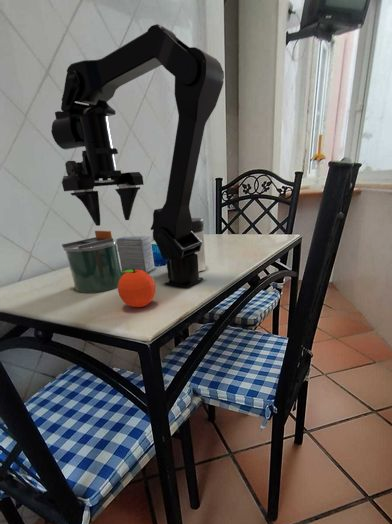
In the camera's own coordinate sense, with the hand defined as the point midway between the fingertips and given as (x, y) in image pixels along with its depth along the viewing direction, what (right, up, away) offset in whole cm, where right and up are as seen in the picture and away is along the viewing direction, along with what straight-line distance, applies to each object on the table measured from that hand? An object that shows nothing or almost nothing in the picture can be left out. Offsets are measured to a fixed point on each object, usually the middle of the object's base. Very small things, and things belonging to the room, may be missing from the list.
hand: (113, 222), depth 74 cm
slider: (-3, -5, -2) cm, 7 cm away
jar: (+18, -9, +8) cm, 22 cm away
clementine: (+8, -22, -14) cm, 27 cm away
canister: (-3, -15, +1) cm, 15 cm away
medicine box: (+4, -9, +11) cm, 14 cm away
